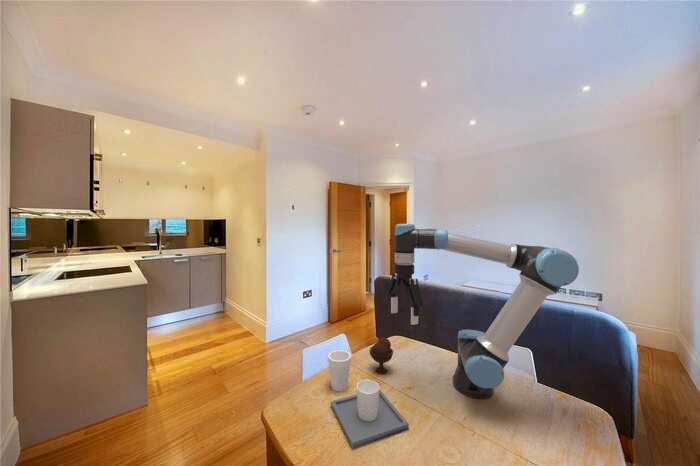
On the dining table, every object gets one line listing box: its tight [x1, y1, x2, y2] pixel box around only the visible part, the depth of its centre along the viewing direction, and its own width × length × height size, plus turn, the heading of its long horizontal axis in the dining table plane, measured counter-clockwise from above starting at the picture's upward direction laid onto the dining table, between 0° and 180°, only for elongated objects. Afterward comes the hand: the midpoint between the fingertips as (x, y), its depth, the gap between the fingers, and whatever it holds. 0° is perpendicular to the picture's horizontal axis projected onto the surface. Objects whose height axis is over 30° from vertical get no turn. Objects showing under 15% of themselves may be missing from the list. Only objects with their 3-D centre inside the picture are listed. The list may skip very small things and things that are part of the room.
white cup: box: [356, 379, 380, 422], centre depth 90 cm, size 8×8×10 cm
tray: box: [330, 388, 410, 450], centre depth 90 cm, size 20×20×2 cm
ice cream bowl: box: [368, 337, 394, 375], centre depth 119 cm, size 11×11×15 cm
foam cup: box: [327, 349, 352, 392], centre depth 107 cm, size 10×9×13 cm
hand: (403, 318), depth 101 cm, fingers open, 13 cm apart
